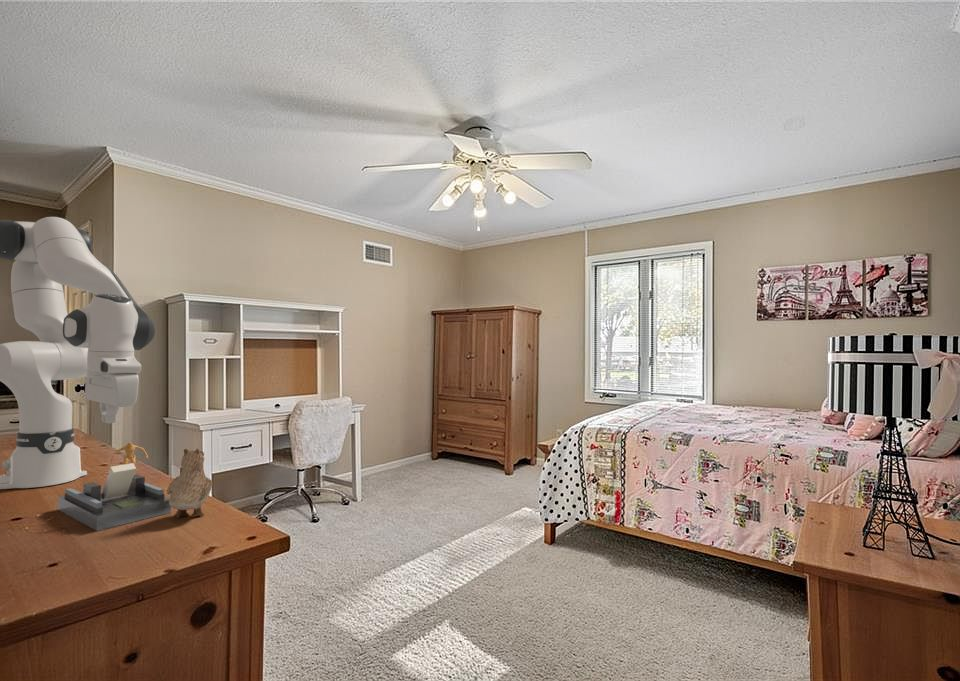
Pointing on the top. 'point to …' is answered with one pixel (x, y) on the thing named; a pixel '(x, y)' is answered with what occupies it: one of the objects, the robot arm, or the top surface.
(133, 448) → the figurine
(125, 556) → the top surface
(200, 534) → the top surface
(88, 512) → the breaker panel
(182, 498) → the figurine
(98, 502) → the pair of grey bars
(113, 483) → the lever
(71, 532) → the top surface
